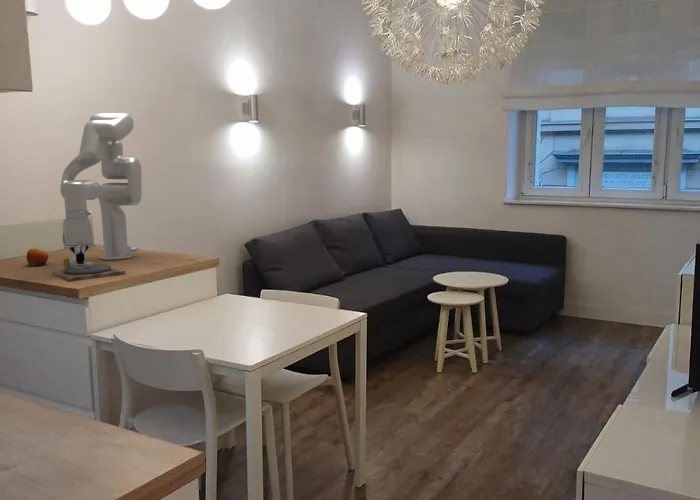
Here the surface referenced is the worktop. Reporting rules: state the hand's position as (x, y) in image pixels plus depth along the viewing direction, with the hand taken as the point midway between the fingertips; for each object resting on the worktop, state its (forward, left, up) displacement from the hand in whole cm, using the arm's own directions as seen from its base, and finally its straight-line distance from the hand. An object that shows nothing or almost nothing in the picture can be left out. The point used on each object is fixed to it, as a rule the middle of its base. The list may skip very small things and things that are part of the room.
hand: (80, 263), depth 256 cm
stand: (-1, +6, -3) cm, 7 cm away
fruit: (+7, -29, -3) cm, 30 cm away
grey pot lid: (-1, +7, -2) cm, 7 cm away
